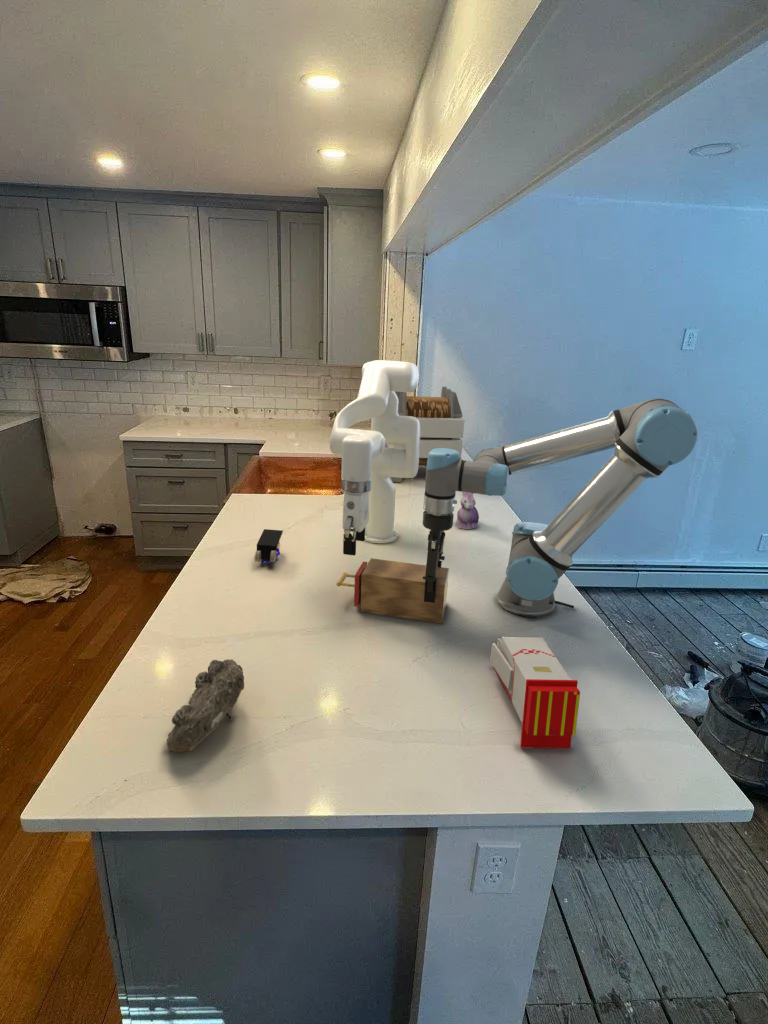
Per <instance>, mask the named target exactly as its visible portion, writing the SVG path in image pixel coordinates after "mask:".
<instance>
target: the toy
mask: <svg viewBox="0 0 768 1024" xmlns="http://www.w3.org/2000/svg"><path fill="white" fill-rule="evenodd" d="M489 658H490V659H489V662H490V663H491V665H492V666H493V669H494V671H495V673H496V675H497V677H498V679H499V680H500V682H501V684H502V686H503V687H504V689H505V691H506V693H507V695H508V697H509V699H510V700H511V703H512V705H513V707H514V709H515V712H516V713H517V716H518V718H519V720H520V722H521V735H520V748H521V749H571V746H572V745H571V744H572V737H574V736H575V737H576V733H577V732H576V731H577V723H578V715H579V705H580V697H581V691H580V688H578V683H579V681H578V680H577V679H572V678H571V677H570V675H569V674H568V673H567V671H566V670H565V668H564V667H563V665H562V664H561V662H560V661H559V660H558V659H557V657H556V656H555V654H554V652H553V651H552V650H551V648H550V647H549V645H548V643H547V642H545V640H544V639H543V637H540V636H539V637H536V636H535V637H534V636H526V637H525V636H501V638H500V637H498V638H497V643H496V642H492V643H491V649H490V657H489Z"/></svg>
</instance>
